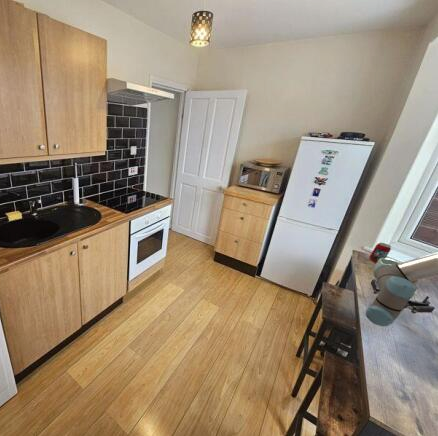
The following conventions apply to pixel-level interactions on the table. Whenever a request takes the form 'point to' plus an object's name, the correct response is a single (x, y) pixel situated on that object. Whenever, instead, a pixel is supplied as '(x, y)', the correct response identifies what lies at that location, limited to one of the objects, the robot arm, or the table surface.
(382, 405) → the table surface
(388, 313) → the robot arm
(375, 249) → the beverage can
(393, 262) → the bowl
